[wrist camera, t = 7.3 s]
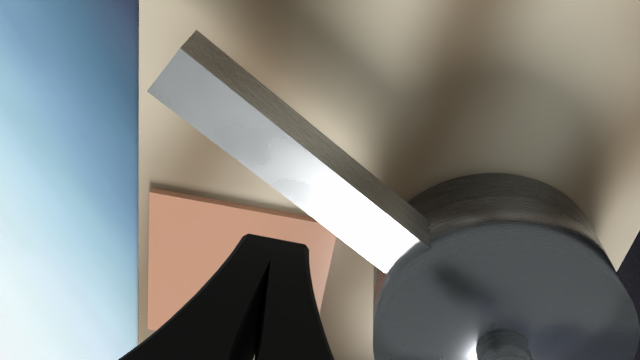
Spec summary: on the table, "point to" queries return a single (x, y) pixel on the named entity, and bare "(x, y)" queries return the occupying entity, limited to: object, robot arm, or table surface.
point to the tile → (216, 245)
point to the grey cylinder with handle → (424, 233)
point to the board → (410, 110)
